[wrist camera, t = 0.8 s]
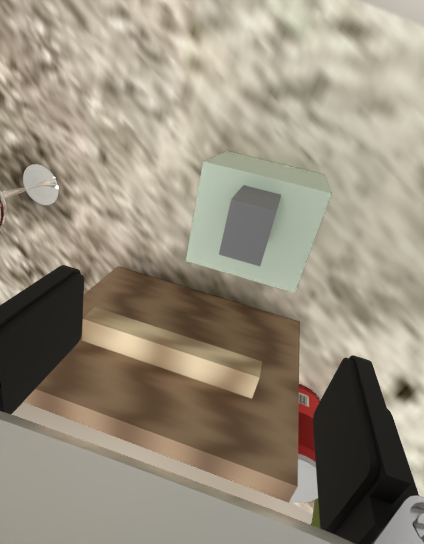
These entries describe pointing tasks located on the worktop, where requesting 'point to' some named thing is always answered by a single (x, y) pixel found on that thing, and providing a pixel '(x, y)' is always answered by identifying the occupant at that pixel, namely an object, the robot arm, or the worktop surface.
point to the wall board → (185, 379)
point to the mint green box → (256, 218)
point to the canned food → (306, 448)
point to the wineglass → (32, 188)
